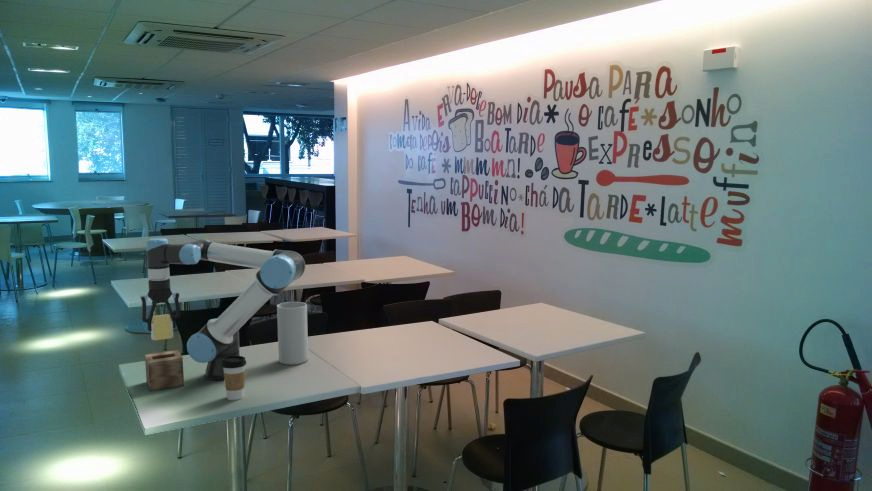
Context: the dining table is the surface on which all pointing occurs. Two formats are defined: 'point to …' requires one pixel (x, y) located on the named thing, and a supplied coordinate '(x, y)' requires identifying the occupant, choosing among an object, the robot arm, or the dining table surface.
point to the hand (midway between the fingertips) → (162, 337)
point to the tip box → (164, 370)
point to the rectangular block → (162, 327)
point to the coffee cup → (234, 376)
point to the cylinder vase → (292, 333)
